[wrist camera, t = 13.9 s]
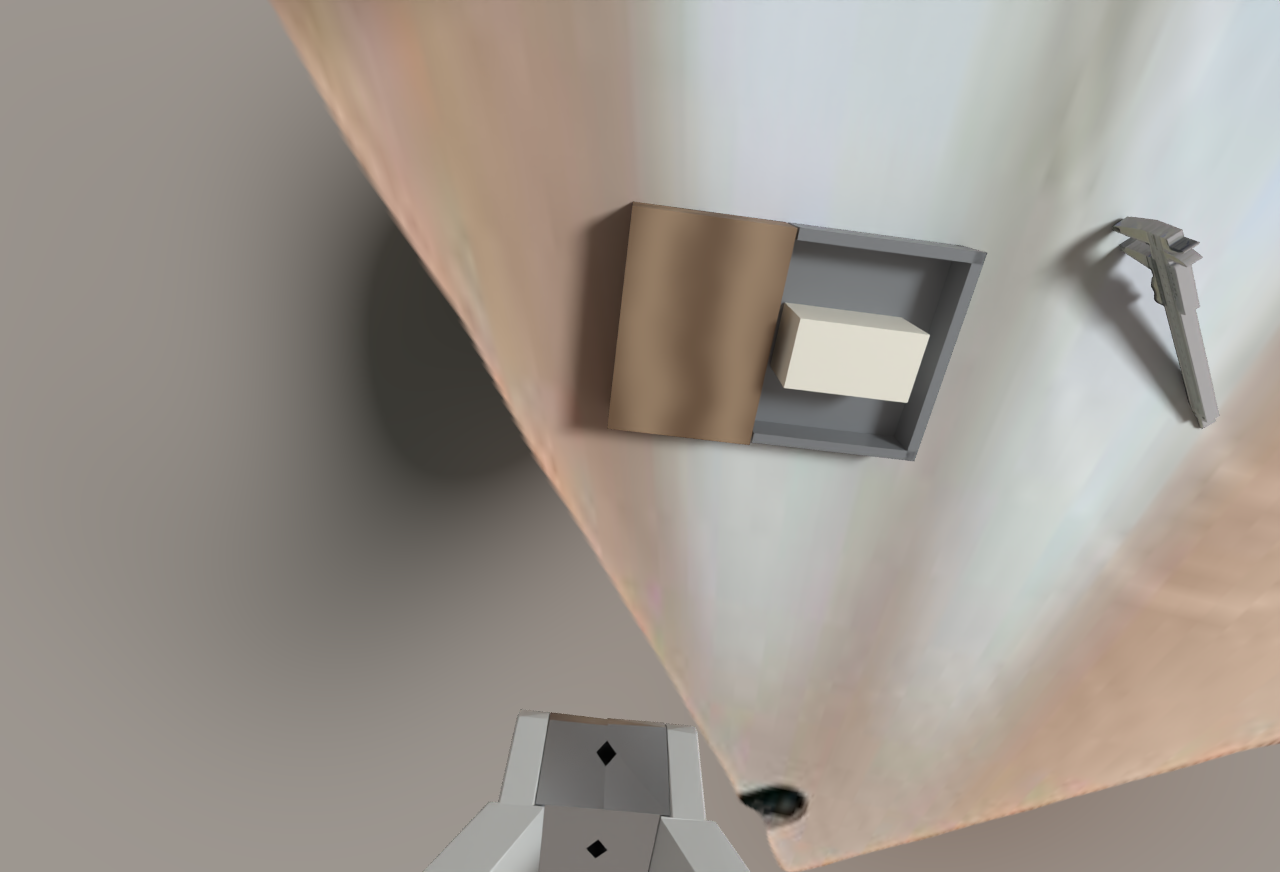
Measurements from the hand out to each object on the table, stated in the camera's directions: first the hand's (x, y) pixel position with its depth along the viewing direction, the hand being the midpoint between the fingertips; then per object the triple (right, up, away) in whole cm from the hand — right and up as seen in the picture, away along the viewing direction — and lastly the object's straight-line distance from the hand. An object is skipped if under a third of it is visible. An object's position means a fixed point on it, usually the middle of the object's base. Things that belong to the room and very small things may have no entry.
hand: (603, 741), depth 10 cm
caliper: (+41, +14, +37) cm, 57 cm away
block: (+11, +12, +34) cm, 38 cm away
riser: (+5, +14, +37) cm, 39 cm away
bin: (+17, +13, +37) cm, 43 cm away
